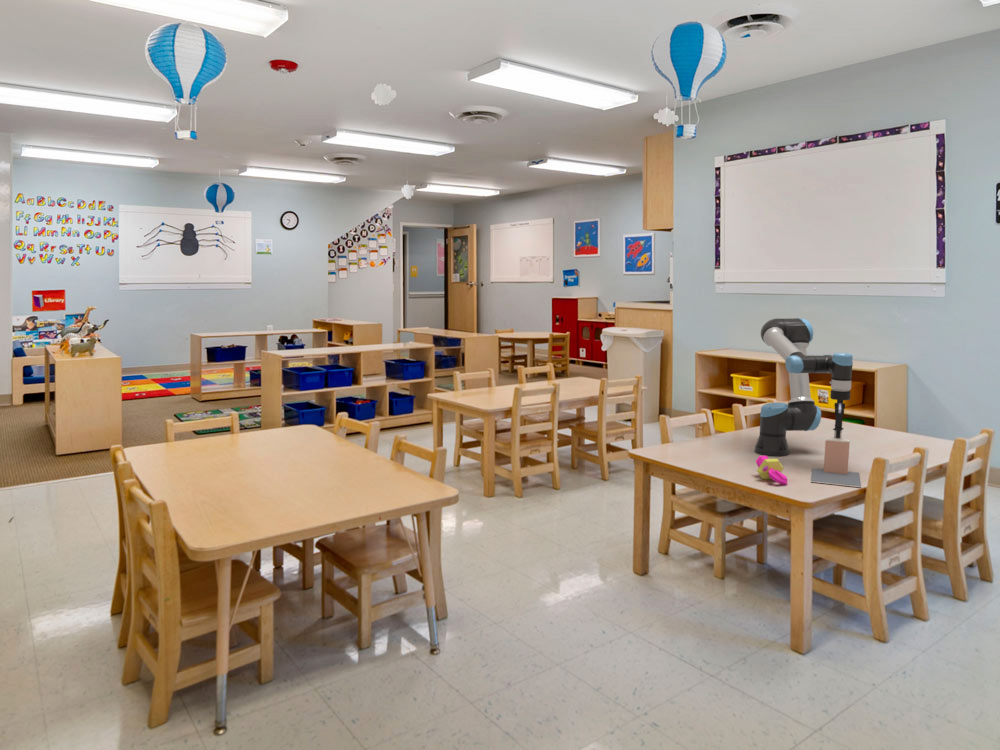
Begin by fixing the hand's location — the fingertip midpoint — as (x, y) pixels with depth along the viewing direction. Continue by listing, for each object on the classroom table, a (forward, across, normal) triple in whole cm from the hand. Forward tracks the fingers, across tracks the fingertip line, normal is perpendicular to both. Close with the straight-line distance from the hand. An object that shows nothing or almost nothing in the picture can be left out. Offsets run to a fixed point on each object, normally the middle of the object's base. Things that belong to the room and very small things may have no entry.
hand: (837, 445), depth 295 cm
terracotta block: (+11, +4, 0) cm, 11 cm away
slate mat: (+12, +12, 0) cm, 16 cm away
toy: (+12, +25, -24) cm, 37 cm away
